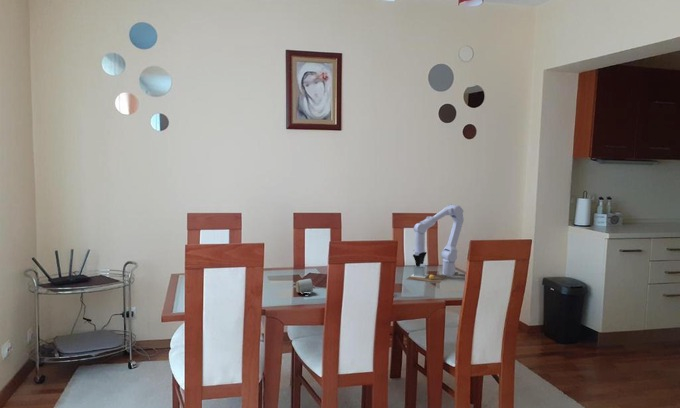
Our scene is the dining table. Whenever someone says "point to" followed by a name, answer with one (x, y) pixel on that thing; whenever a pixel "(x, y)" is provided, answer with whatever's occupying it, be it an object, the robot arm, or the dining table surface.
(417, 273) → the light blue cube
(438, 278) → the board
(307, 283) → the ceramic mug
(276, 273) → the dining table surface
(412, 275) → the pad
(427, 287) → the dining table surface
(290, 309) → the dining table surface
